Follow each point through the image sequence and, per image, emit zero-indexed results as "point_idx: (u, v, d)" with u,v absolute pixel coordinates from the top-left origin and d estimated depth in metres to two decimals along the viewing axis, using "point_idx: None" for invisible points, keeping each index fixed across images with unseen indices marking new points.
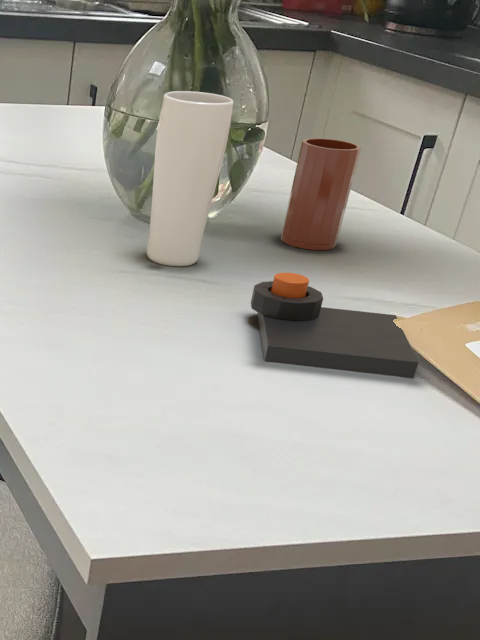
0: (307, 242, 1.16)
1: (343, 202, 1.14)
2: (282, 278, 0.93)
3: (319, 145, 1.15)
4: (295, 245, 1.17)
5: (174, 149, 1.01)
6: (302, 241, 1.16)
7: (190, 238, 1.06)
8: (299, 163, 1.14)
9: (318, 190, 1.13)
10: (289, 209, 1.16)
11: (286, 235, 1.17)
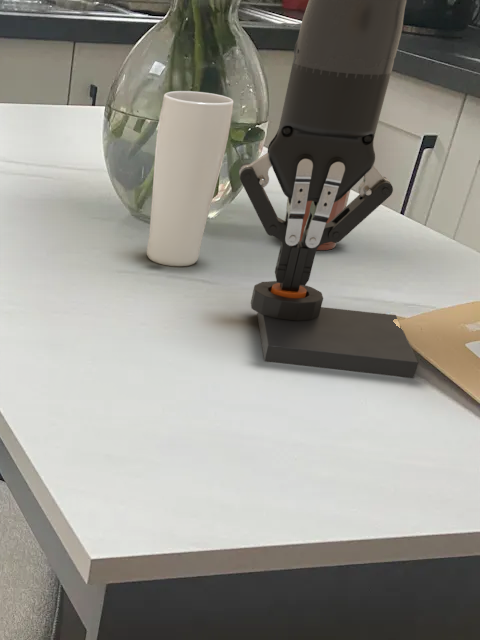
0: None
1: (343, 202, 1.14)
2: (280, 289, 0.93)
3: None
4: None
5: (174, 149, 1.01)
6: None
7: (190, 238, 1.06)
8: None
9: None
10: None
11: None
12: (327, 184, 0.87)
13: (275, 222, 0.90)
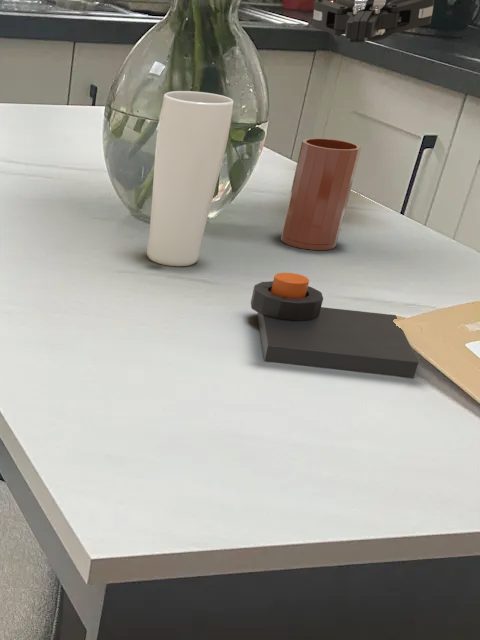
0: (307, 242, 1.16)
1: (343, 202, 1.14)
2: (282, 278, 0.93)
3: (319, 145, 1.15)
4: (295, 245, 1.17)
5: (174, 149, 1.01)
6: (302, 241, 1.16)
7: (190, 238, 1.06)
8: (299, 163, 1.14)
9: (318, 190, 1.13)
10: (289, 209, 1.16)
11: (286, 235, 1.17)
12: None
13: None
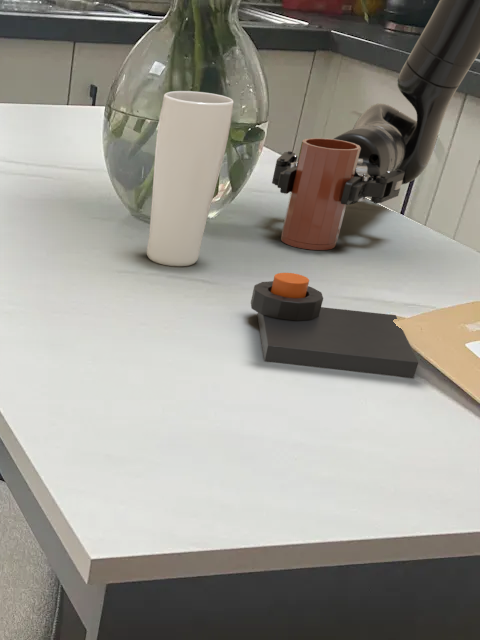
0: (307, 242, 1.16)
1: None
2: (282, 278, 0.93)
3: (319, 145, 1.15)
4: (295, 245, 1.17)
5: (174, 149, 1.01)
6: (302, 241, 1.16)
7: (190, 238, 1.06)
8: (299, 163, 1.14)
9: (318, 190, 1.13)
10: (289, 209, 1.16)
11: (286, 235, 1.17)
12: None
13: (284, 159, 1.19)
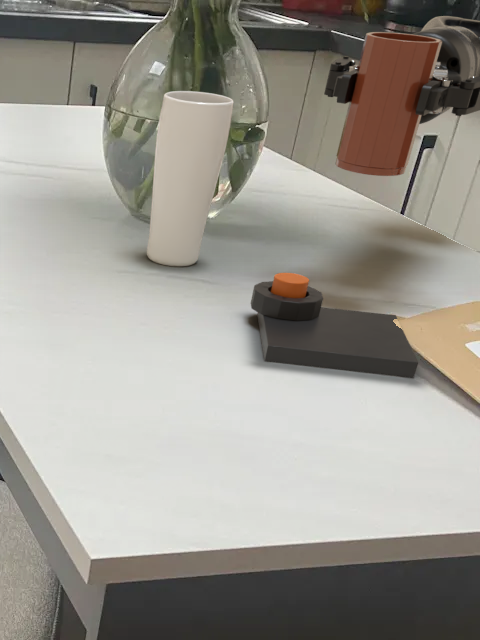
0: (370, 165, 0.92)
1: None
2: (282, 278, 0.93)
3: None
4: (354, 170, 0.92)
5: (174, 149, 1.01)
6: (364, 164, 0.92)
7: (190, 238, 1.06)
8: (362, 63, 0.89)
9: (387, 97, 0.88)
10: (347, 124, 0.92)
11: (343, 158, 0.93)
12: None
13: (340, 63, 0.94)
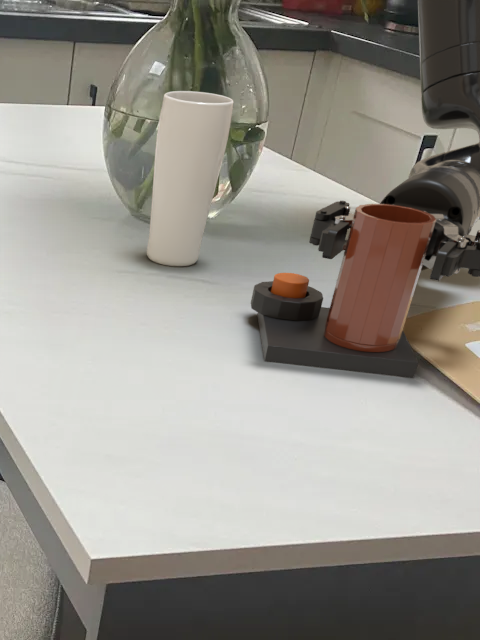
0: (360, 342, 0.87)
1: (410, 290, 0.85)
2: (282, 278, 0.93)
3: (377, 213, 0.86)
4: (344, 345, 0.88)
5: (174, 149, 1.01)
6: (354, 341, 0.87)
7: (190, 238, 1.06)
8: (351, 238, 0.84)
9: (378, 276, 0.84)
10: (336, 298, 0.87)
11: (332, 331, 0.88)
12: None
13: None
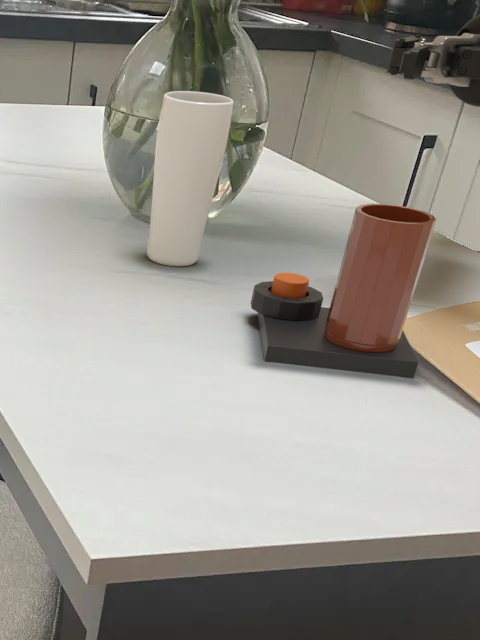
0: (360, 342, 0.87)
1: (410, 290, 0.85)
2: (282, 278, 0.93)
3: (377, 213, 0.86)
4: (344, 345, 0.88)
5: (174, 149, 1.01)
6: (354, 341, 0.87)
7: (190, 238, 1.06)
8: (351, 238, 0.84)
9: (378, 276, 0.84)
10: (336, 298, 0.87)
11: (332, 331, 0.88)
12: None
13: None
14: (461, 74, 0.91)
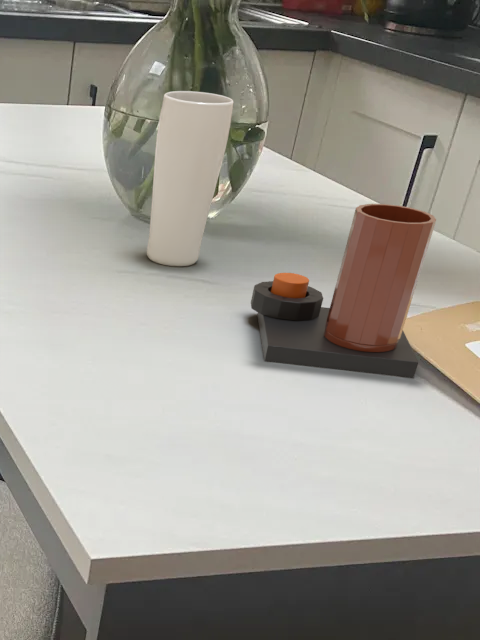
0: (360, 342, 0.87)
1: (410, 290, 0.85)
2: (282, 278, 0.93)
3: (377, 213, 0.86)
4: (344, 345, 0.88)
5: (174, 149, 1.01)
6: (354, 341, 0.87)
7: (190, 238, 1.06)
8: (351, 238, 0.84)
9: (378, 276, 0.84)
10: (336, 298, 0.87)
11: (332, 331, 0.88)
12: None
13: None
14: None
